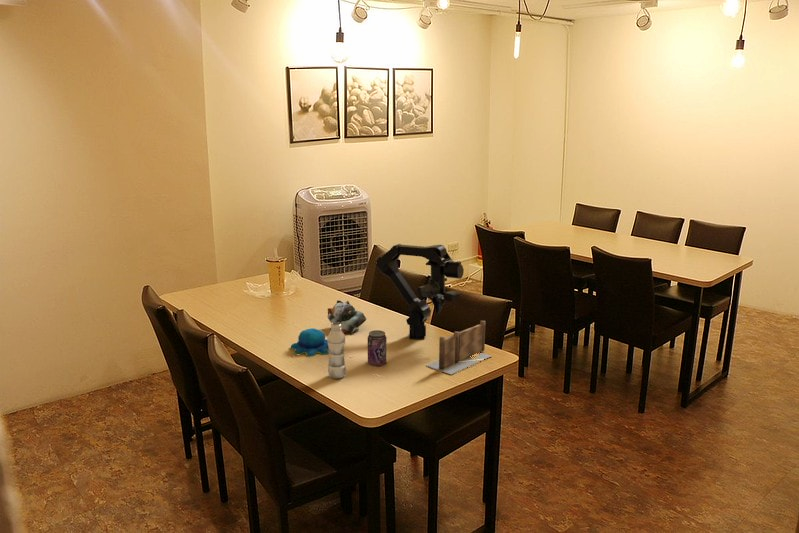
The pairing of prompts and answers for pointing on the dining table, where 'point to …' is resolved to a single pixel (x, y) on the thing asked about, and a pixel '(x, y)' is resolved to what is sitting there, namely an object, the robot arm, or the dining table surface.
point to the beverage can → (377, 347)
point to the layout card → (459, 364)
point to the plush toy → (311, 343)
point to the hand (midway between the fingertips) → (438, 313)
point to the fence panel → (471, 341)
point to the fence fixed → (448, 350)
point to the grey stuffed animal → (346, 316)
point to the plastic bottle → (336, 351)
